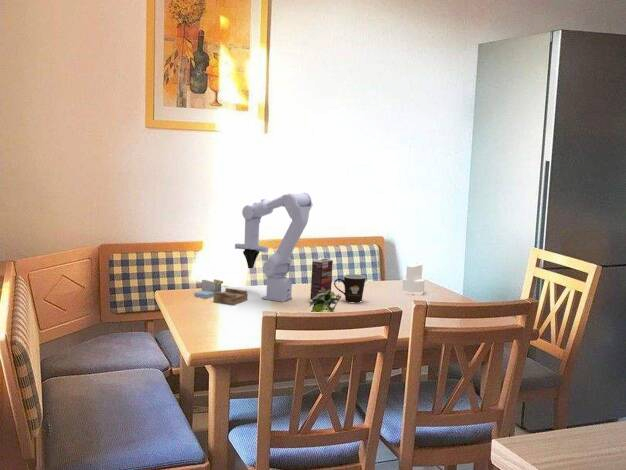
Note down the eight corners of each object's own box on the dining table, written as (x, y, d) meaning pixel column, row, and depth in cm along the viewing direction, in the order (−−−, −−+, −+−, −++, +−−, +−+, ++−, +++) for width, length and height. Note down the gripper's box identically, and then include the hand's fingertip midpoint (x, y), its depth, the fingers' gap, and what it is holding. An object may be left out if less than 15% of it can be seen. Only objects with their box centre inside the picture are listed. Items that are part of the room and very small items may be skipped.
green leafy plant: (320, 326, 253) (332, 298, 257) (339, 328, 244) (351, 298, 248) (298, 312, 247) (312, 283, 251) (317, 313, 239) (330, 283, 243)
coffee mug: (367, 300, 274) (368, 276, 272) (359, 305, 266) (361, 279, 264) (340, 296, 278) (341, 272, 277) (332, 300, 271) (333, 276, 269)
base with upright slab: (408, 289, 297) (410, 262, 296) (427, 293, 292) (429, 265, 290) (398, 292, 290) (400, 265, 288) (417, 296, 285) (419, 268, 283)
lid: (201, 290, 272) (201, 295, 272) (194, 292, 267) (194, 297, 268) (214, 292, 269) (214, 297, 270) (207, 294, 265) (207, 299, 265)
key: (224, 295, 271) (224, 280, 270) (219, 296, 269) (219, 281, 268) (205, 290, 278) (205, 276, 277) (200, 291, 276) (201, 277, 275)
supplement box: (320, 303, 266) (322, 263, 264) (309, 301, 269) (311, 261, 266) (331, 299, 273) (333, 260, 271) (321, 297, 276) (323, 258, 274)
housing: (247, 300, 266) (247, 290, 265) (233, 305, 257) (233, 295, 256) (227, 296, 269) (227, 287, 269) (213, 302, 260) (213, 292, 260)
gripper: (231, 234, 276) (230, 267, 278) (262, 237, 270) (261, 271, 272) (240, 232, 282) (239, 264, 284) (271, 235, 276) (270, 268, 278)
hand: (250, 267), depth 279 cm, fingers closed
